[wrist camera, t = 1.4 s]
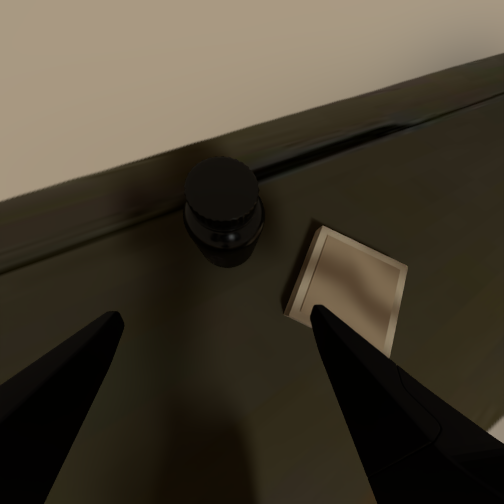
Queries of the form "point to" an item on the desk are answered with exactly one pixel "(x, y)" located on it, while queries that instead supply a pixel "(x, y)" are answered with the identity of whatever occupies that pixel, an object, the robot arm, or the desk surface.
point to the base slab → (350, 287)
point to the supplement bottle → (223, 210)
